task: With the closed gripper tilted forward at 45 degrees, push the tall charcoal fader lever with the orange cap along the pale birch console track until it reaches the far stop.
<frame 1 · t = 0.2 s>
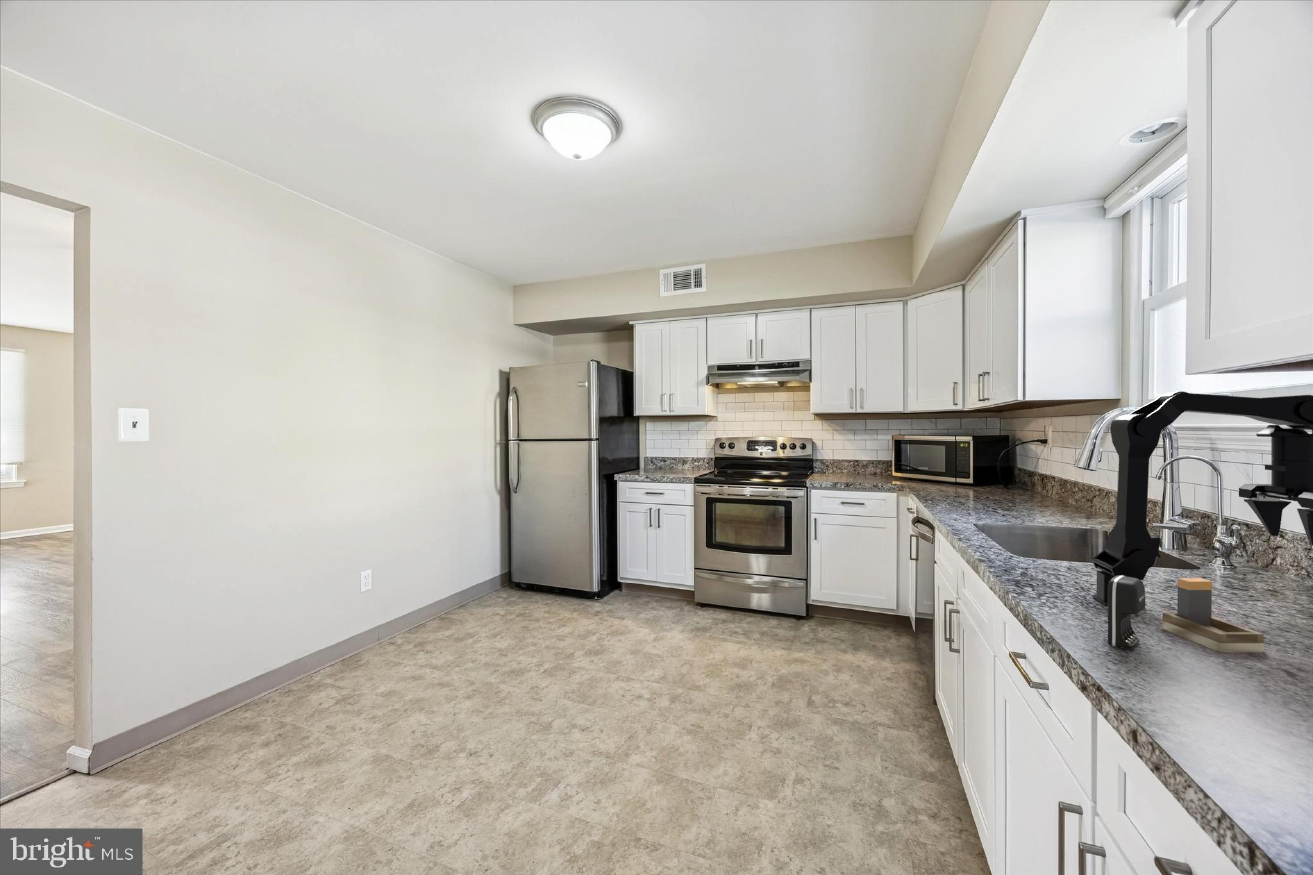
hand: (1294, 540, 101), 15 cm above the countertop, tool pointing down, fingers open, 9 cm apart
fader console: (1210, 639, 91), on the countertop
fader lever: (1194, 601, 93), point 6 cm above the countertop, slide at 0.0 cm
battery charger: (1126, 645, 89), on the countertop
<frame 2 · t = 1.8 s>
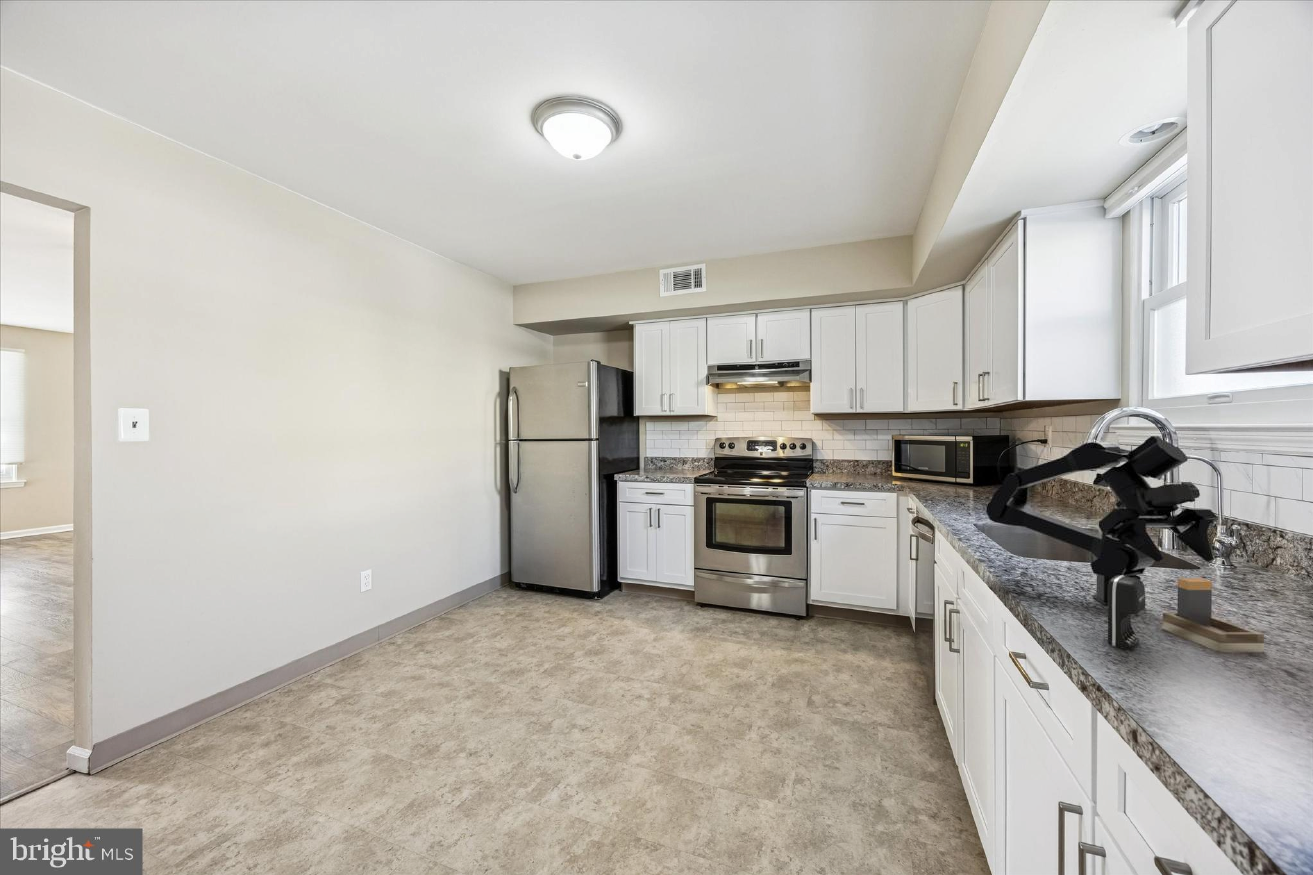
hand: (1185, 560, 95), 13 cm above the countertop, tool tilted 45°, fingers open, 9 cm apart
nothing on the countertop moved.
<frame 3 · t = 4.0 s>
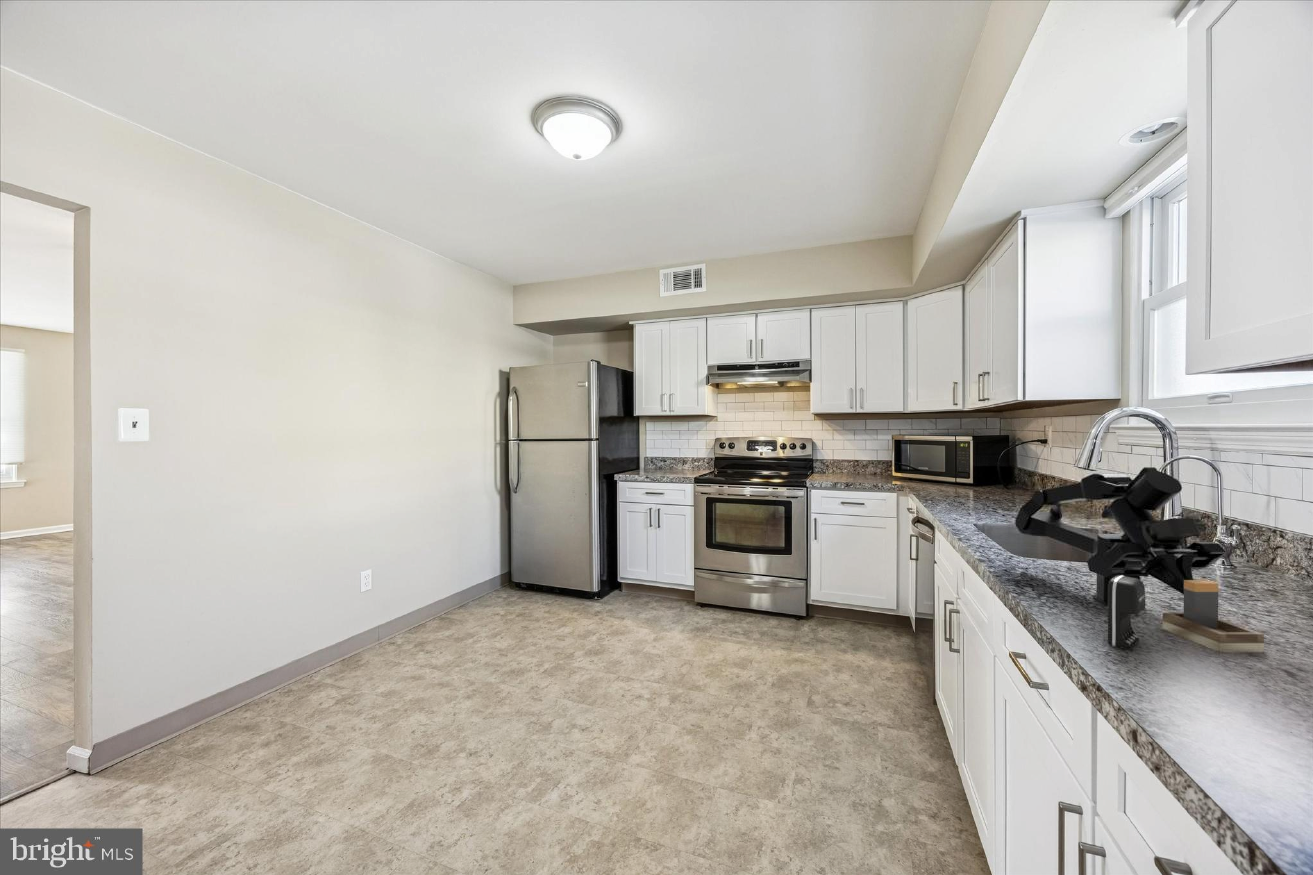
hand: (1193, 596, 94), 7 cm above the countertop, tool tilted 45°, fingers closed, pressing on fader lever
fader lever: (1200, 604, 92), point 6 cm above the countertop, slide at 1.1 cm, touching gripper
everything else where it was.
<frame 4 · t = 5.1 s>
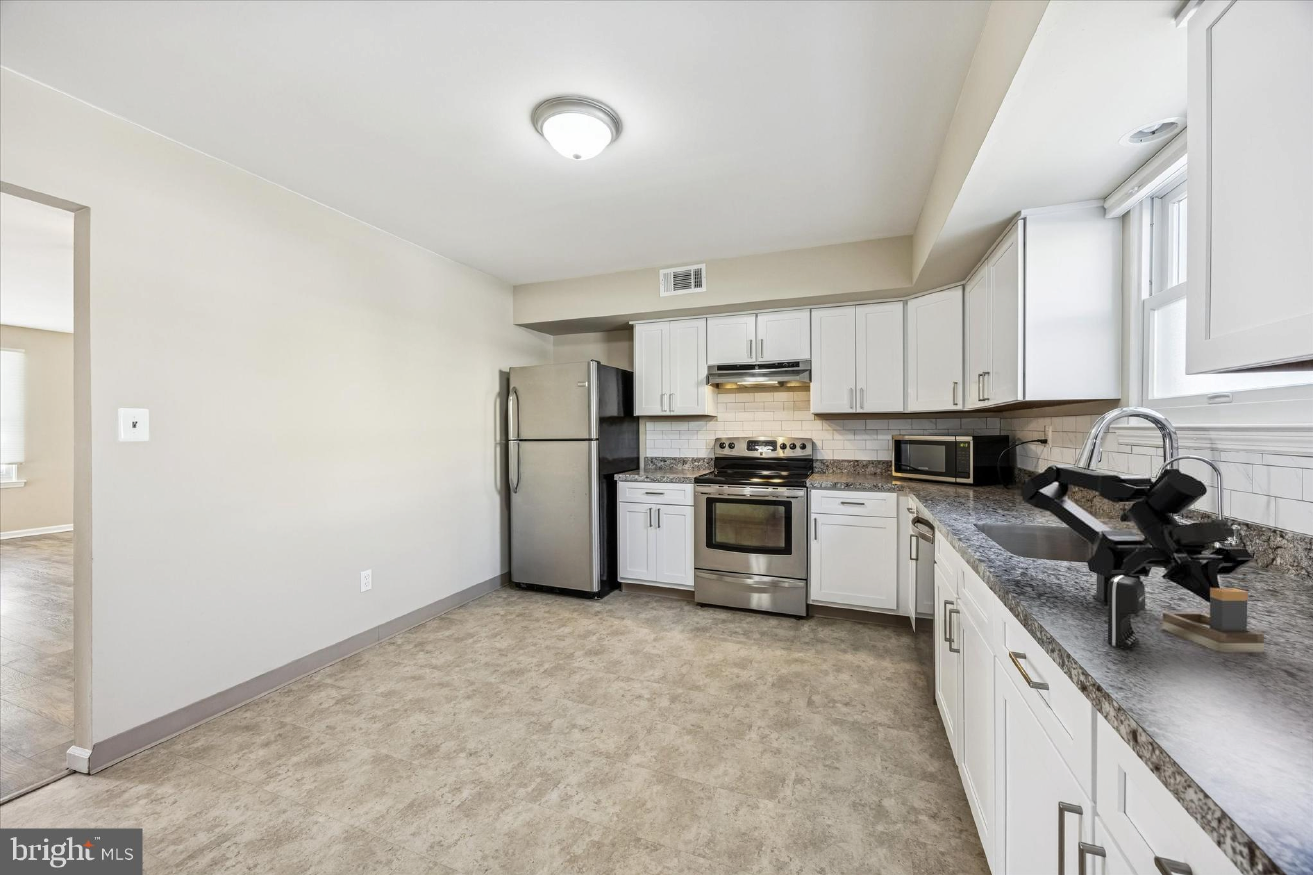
hand: (1220, 605, 89), 7 cm above the countertop, tool tilted 45°, fingers closed, pressing on fader lever
fader lever: (1228, 613, 88), point 6 cm above the countertop, slide at 5.7 cm, touching gripper
everything else where it was.
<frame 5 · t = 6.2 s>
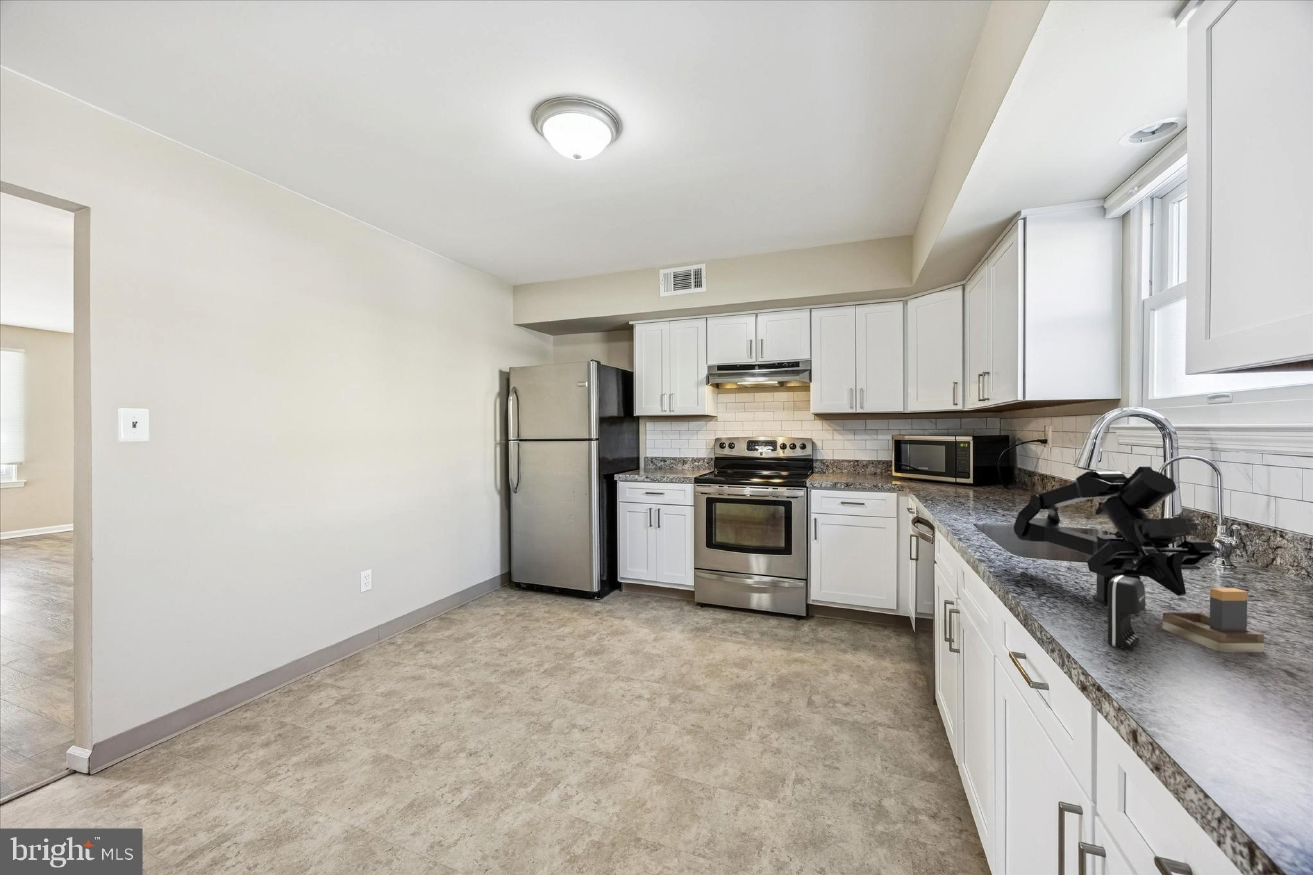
hand: (1182, 594, 96), 6 cm above the countertop, tool tilted 45°, fingers closed
fader lever: (1228, 613, 88), point 6 cm above the countertop, slide at 5.7 cm
everything else where it was.
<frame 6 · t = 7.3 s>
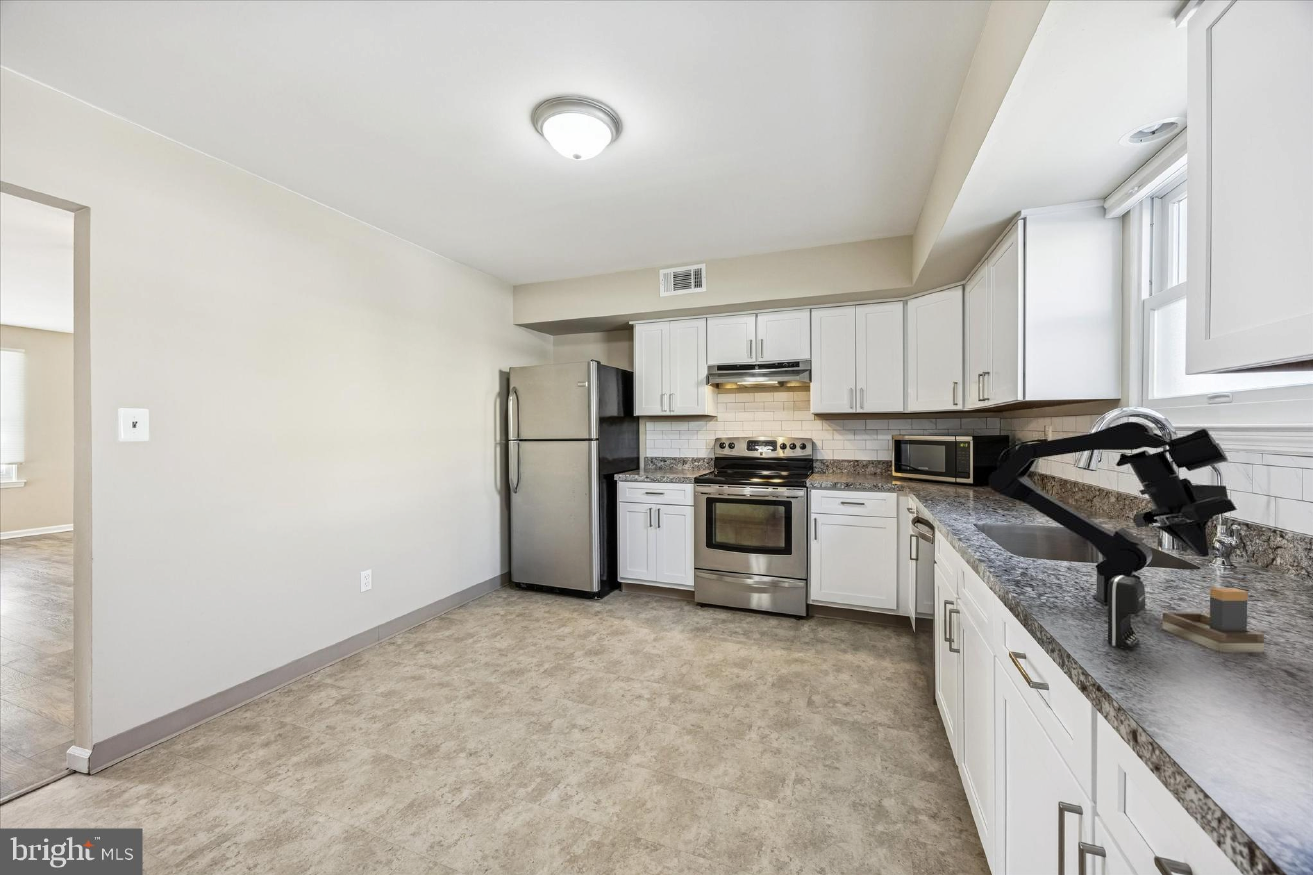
hand: (1204, 556, 99), 12 cm above the countertop, tool tilted 25°, fingers closed
nothing on the countertop moved.
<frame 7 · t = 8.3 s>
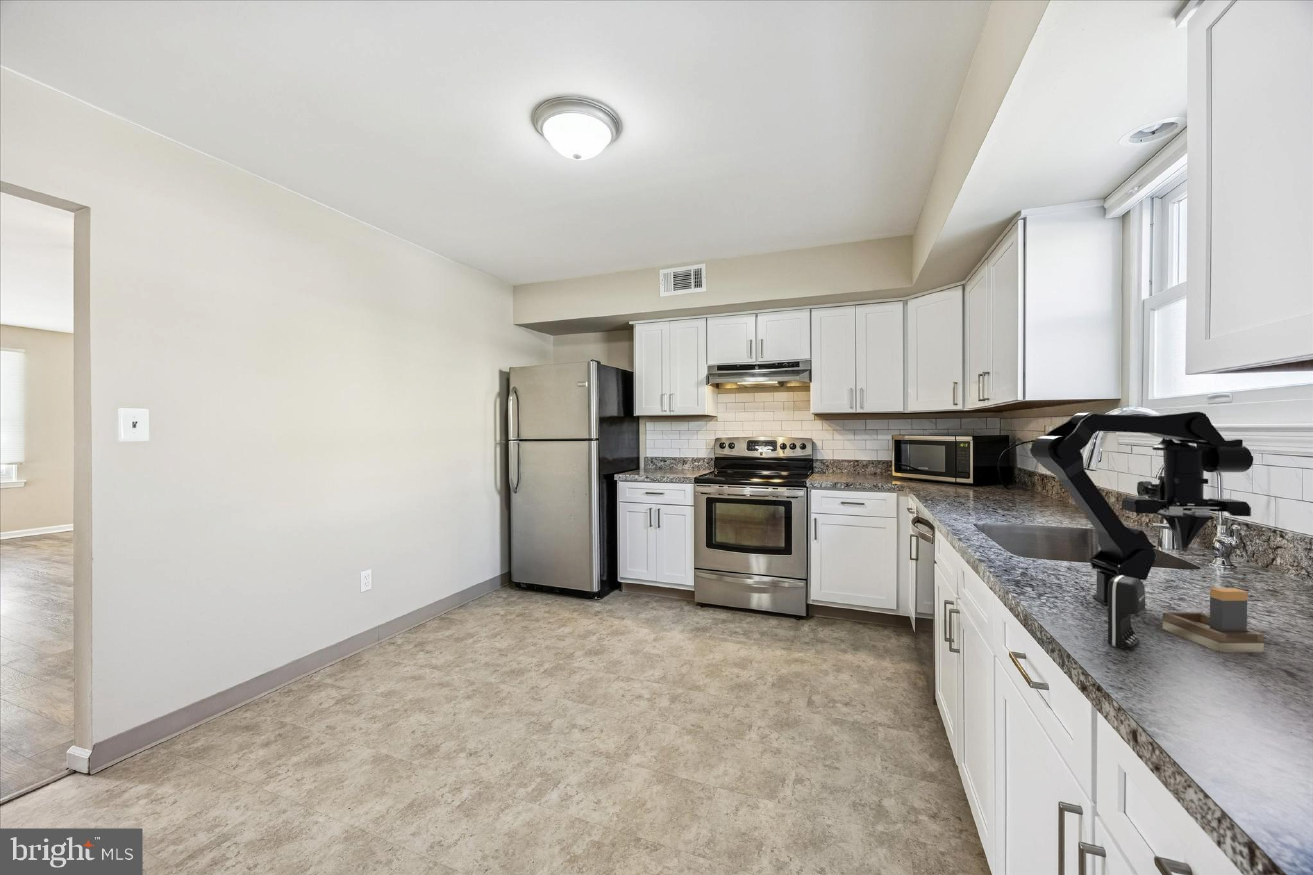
hand: (1183, 547, 108), 12 cm above the countertop, tool pointing down, fingers closed
nothing on the countertop moved.
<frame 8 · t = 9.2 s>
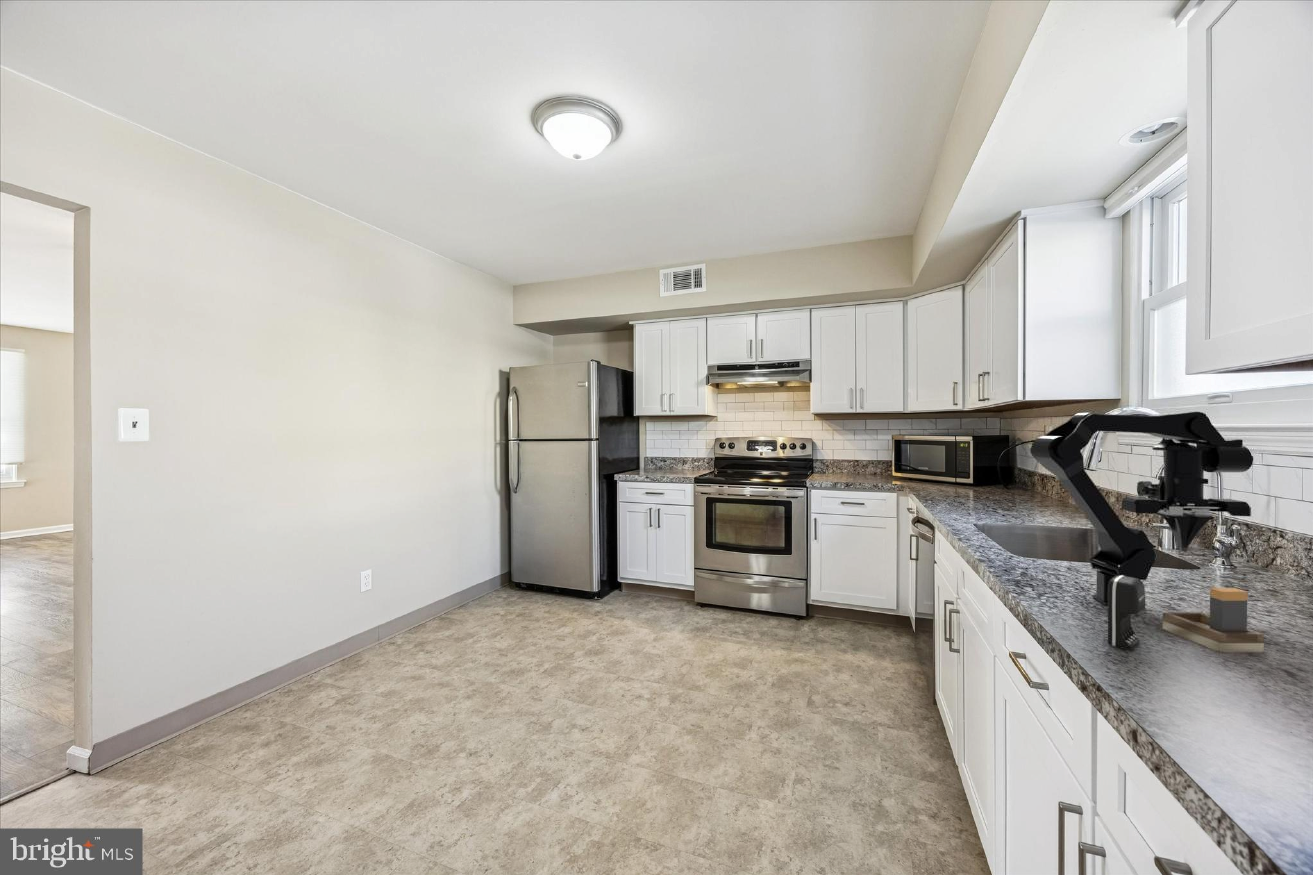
hand: (1182, 547, 108), 12 cm above the countertop, tool pointing down, fingers closed
nothing on the countertop moved.
at the end: fader lever slide at 5.7 cm; battery charger moved 0.2 cm from its start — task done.
